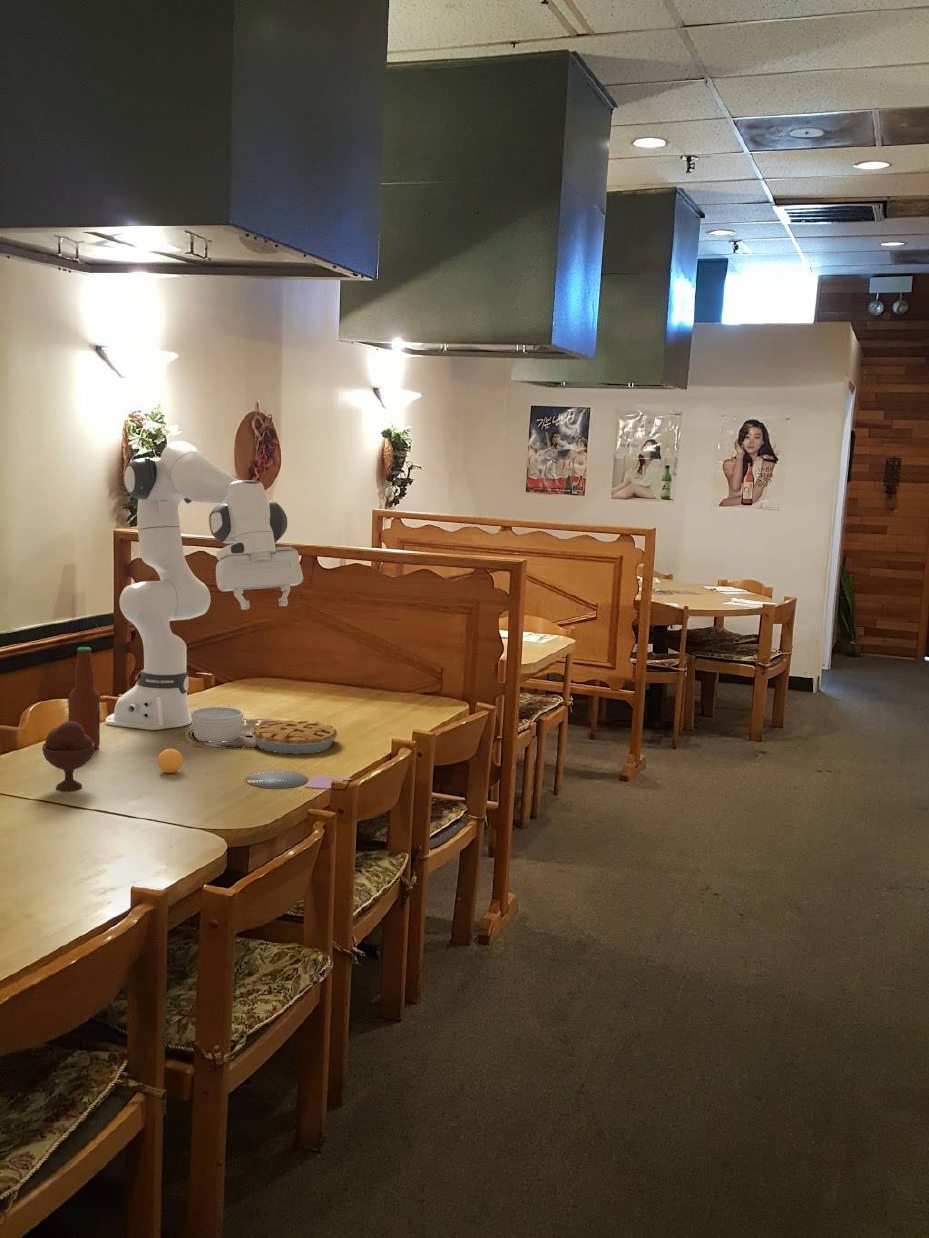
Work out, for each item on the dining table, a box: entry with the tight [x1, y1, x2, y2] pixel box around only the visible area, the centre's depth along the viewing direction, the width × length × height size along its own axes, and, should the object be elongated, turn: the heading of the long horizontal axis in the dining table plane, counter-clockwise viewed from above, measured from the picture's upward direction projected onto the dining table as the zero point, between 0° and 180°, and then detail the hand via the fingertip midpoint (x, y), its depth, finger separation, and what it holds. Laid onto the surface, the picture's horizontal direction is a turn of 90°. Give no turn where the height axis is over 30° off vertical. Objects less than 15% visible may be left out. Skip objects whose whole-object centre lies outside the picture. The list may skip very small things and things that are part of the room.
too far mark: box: [304, 775, 352, 790], centre depth 253 cm, size 9×9×1 cm
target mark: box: [245, 770, 309, 790], centre depth 254 cm, size 14×14×1 cm
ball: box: [157, 748, 184, 774], centre depth 255 cm, size 6×6×6 cm
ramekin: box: [190, 706, 244, 743], centre depth 288 cm, size 13×13×7 cm
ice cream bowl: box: [41, 721, 95, 792], centre depth 239 cm, size 11×11×15 cm
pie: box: [251, 720, 338, 755], centre depth 285 cm, size 22×22×5 cm
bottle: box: [67, 646, 101, 750], centre depth 271 cm, size 7×7×25 cm
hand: (265, 607), depth 253 cm, fingers open, 8 cm apart
